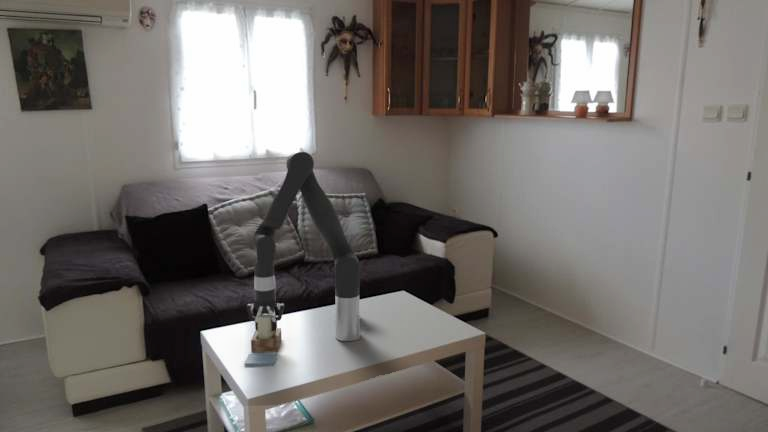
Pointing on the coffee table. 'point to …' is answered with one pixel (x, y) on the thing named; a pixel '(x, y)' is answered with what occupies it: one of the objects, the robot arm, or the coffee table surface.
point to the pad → (261, 359)
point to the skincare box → (265, 327)
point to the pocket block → (266, 342)
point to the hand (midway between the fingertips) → (266, 330)
